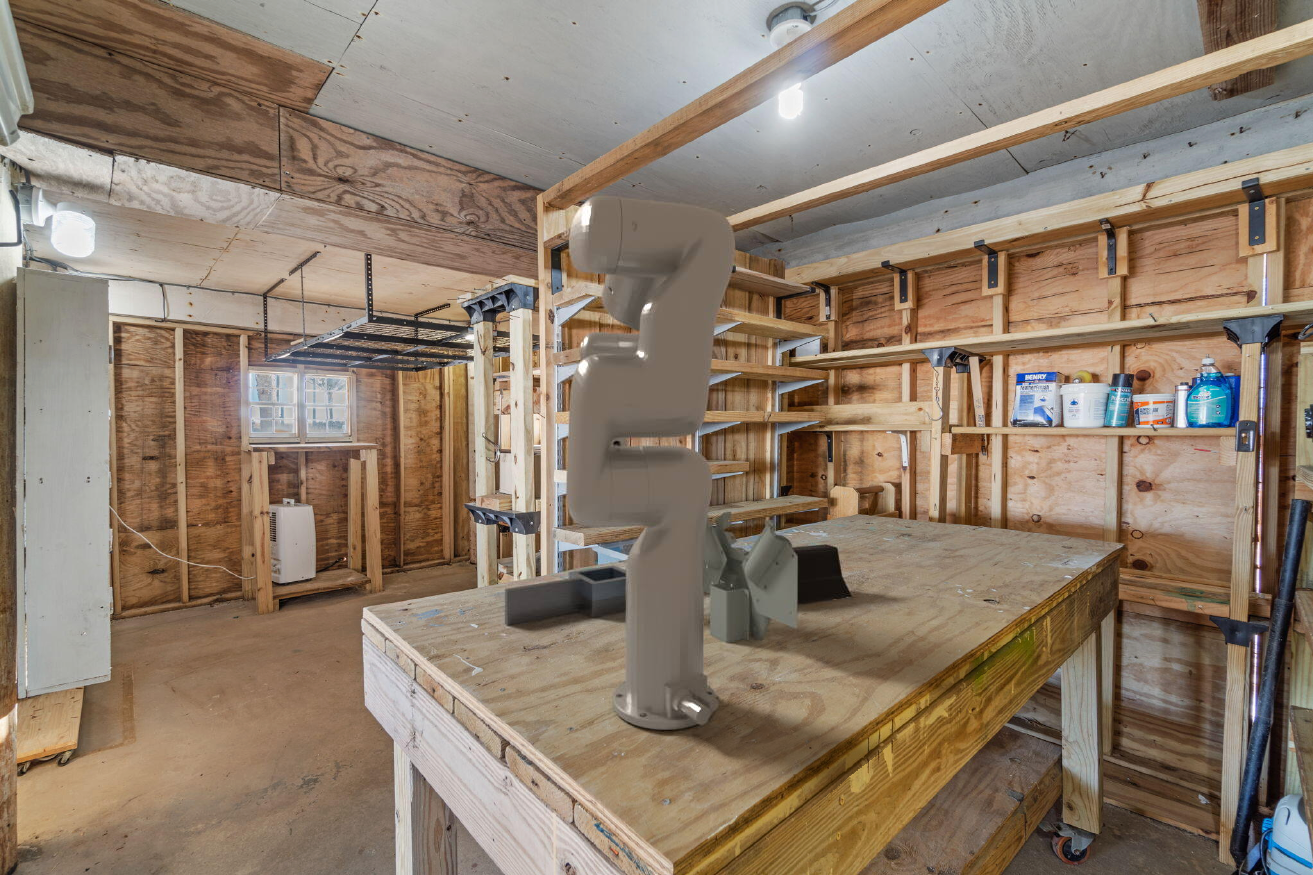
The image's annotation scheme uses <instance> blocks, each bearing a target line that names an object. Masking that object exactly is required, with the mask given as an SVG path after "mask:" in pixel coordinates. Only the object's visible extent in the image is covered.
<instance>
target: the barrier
mask: <svg viewBox="0 0 1313 875" xmlns="http://www.w3.org/2000/svg"><path fill="white" fill-rule="evenodd" d="M792 549H793V551H794V552H795V553H796V555H797V556H798V601H797V606H801V605H807V604H814V603H822V602H830V601H834V600H833V599H837V600H843V599H842V598H844V599H847V598H846V597H851V598H853V595H852V594H851V592H850V590H849V587H848V585H847V583H846V581H845V579H844V577H843V573H842V567H841V560H840V556H839V554H840V553H839V549H838V547H836V546H833V545H830V544H827V543H826V544H816V545H805V546H793V548H792ZM747 552H748V553H749V552H750V550H749V551H747ZM748 553H746V554H744V555H748ZM792 556H794V555H792Z"/></svg>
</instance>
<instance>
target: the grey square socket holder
mask: <svg viewBox="0 0 1313 875" xmlns="http://www.w3.org/2000/svg"><path fill="white" fill-rule="evenodd" d="M578 612H582V613H584V614H585V615H587V616H589V617H591V618H592V619H593V618H597V617H598V618H599V617H602V616H607V615H612V614H616V613H622V612H626V569H623V568H621V567H619V566H617V565H614V564H613V565H608V566H600V567H594V568H590V569H589V568H588V569H581V570H576V571H568V578H565V579H560V580H554V581H552V580H551V581H547V582H541V583H533V584H528V585H522V586H516V587H510V588H508V587H507V588H504V624H505V625H506V626H511V625H512V626H513V625H516V624H522V623H529V622H532V621H537V620H538V621H539V620H541V619H547V618H552V617H558V616H563V615H568V614H569V615H570V614H573V613H578Z"/></svg>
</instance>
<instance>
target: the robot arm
mask: <svg viewBox="0 0 1313 875" xmlns="http://www.w3.org/2000/svg"><path fill="white" fill-rule="evenodd" d="M569 231H570V232H569V236H568V237H569V238H568V250H569V251H568V252H569V258H570V262H571V263H572V266H573V267H574V269H575V270H576V271H577V272H579V273H583V274H590V273H591V274H598V275H605V279H604V284H603V286H602V291H601V302H602V306H603V308H604V309H605V311H606V313H608V315H609V316H610V317H611V318H613V319H614V320H616V321H617V322H619V323H620V324H623V325H625V326H627V327H628V328H631V329H633V330H635V331H637V332H639V333H630V332H629V333H628V332H627V333H626V332H623V333H622V332H603V331H597V332H596V331H595V332H590V333H588V334H586V336H584V338H583V340H582V341H581V343H580V345H579V347H580V348H579V363H578V365H577V366H576V368H575V371H574V374H573V376H572V381H571V386H570V393H569V394H570V396H569V408H568V409H569V413H568V434H567V435H568V437H567V462H566V484H565V485H566V488H565V489H566V491H565V492H566V495H565V496H566V504H567V509H568V513H569V516H570V517H571V519H572V520H573V522H575V523H576V524H577V525H579V526H582V527H585V528H599V529H600V528H620V527H621V528H622V527H624V528H625V527H644V529H643V530H642V531H641V533H640V535H639V536H638V537H637V539H636V540H635V542H634V543H633V544H632V547H631V548H630V551H629V552H628V555H627V558H626V563H625V564H626V565H625V570H626V611H625V681H623V682H621V683H620V684H619V685H618V686H616V688H615V690H614V692H613V693H612V707H613V709H614V711H615V713H616V714H617V715H618V717H620V719H623V720H624V721H625V722H627V723H629V724H632V725H634V726H637V727H641V728H644V729H650V730H659V731H661V730H662V731H663V730H664V731H667V730H668V731H671V730H672V731H673V730H680V729H686V728H690V727H693V726H696V725H700V726H702V725H705V724H706V723H708V721H709V719H710V717H711V716H712V715H713V713H715V711H717V710H718V708H719V704H720V702H719V700H718V698H717V697H716V693H715V691H714V690H713V688H712V687H711V685H709V684H708V676H707V675H706V674H704V623H705V622H704V616H705V615H704V614H705V613H704V608H705V606H704V604H705V603H704V602H705V601H704V598H705V597H704V596H705V595H704V594H705V593H704V544H705V531H706V522H707V516H708V517H709V509H710V505H711V498H712V492H713V473H712V469H711V466H710V463H709V462H708V460H707V459H706V457H705V456H703V455H702V454H701V453H700V452H698V451H696V450H694V449H693V448H692V449H691V448H689V447H684V446H679V445H637V446H636V445H635V446H629V445H628V443H629V442H628V439H630V438H631V439H634V438H635V439H637V438H638V439H642V438H643V439H646V438H647V439H648V438H650V439H652V438H653V439H658V438H660V439H661V438H681V437H686V436H690V435H693V434H695V433H697V432H698V431H699V430H700V429H701V428H702V425H703V423H704V421H705V418H706V412H707V408H708V400H709V391H710V382H711V372H712V363H713V361H712V360H713V352H714V350H713V349H714V342H715V341H714V337H715V328H716V323H717V322H716V321H717V318H718V313H719V310H720V307H721V304H722V302H723V299H724V296H725V294H726V291H727V287H728V285H729V283H730V279H731V276H732V273H733V268H734V263H735V257H736V241H735V240H736V239H735V233H734V230H733V227H732V224H731V223H730V221H729V220H728V218H727V217H726V216H724V215H723V214H722V213H720V212H718V211H716V210H712V209H709V208H707V207H702V206H697V205H692V204H685V203H679V202H670V201H669V202H668V201H660V200H659V201H658V200H648V199H639V198H631V197H630V198H629V197H622V196H612V195H610V196H609V195H594V196H591V197H590V198H588V199H587V200H586V201H585V202H584V203H583V204H582V205H581V206H580V207H579V209H578V210H577V212H576V213H575V215H574V218H573V219H572V222H571V226H570V230H569Z"/></svg>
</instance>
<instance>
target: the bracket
mask: <svg viewBox="0 0 1313 875" xmlns="http://www.w3.org/2000/svg"><path fill="white" fill-rule="evenodd" d="M714 522H715V525H716V526H715V527H714V526H713V524H712V521H711V520H710V517H709V515H708V516H707V522H706V531H705V544H704V592H705V593H707V594H709V596H710V598H709V599H710V601H709V605H710V611H709V612H710V614H709V622H710V624H709V634H710V635H711V636H712V637H714V638H716V639H718V640H720V641H722V642H725V643H728V644H729V643H733V642H737V641H740V640H741V641H742V640H745V641H747V642H749V641H750V633H751V636H752V637H753V638H755V639H757V640H759V641H763V640H764V639H765V635H766V633H767V631H768V627H769V625H770V623H771V620H774V621H777V622H779V623H781V624H784V625H787V626H789V627H792V628H794V629H798V605H797V601H798V556H797V555H796V553H795V552H794V551H793V549H792V548H793V547H794V546H793V544H792V542H791V541H790V540H789V538H788V537H786V536H784V535H781V534H777V533H776V532H775V519H770V520H769V519H768V520H765V527H764V528H763V529H762V531H761V533H760V534H759V536H758V538H757V539H756V540H755V542H754V544H753V546H752V547H751V548H750V550H749V551H750V552H749V551H748V550H746V549H744V548H743V547H733V546H732V545H734V544H735V543H737V539H736V537H735V535H734V533H733V532H730V531H725V530H726V529H727V528H728V527H730V526H731V525H732V511H727V512H723V513H721V514H720V516H719V517H718V518H717V519H716V520H715V521H714ZM732 537H733V538H732ZM748 552H749V553H748ZM746 553H748V555H744V554H746ZM792 555H794V556H792Z"/></svg>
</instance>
